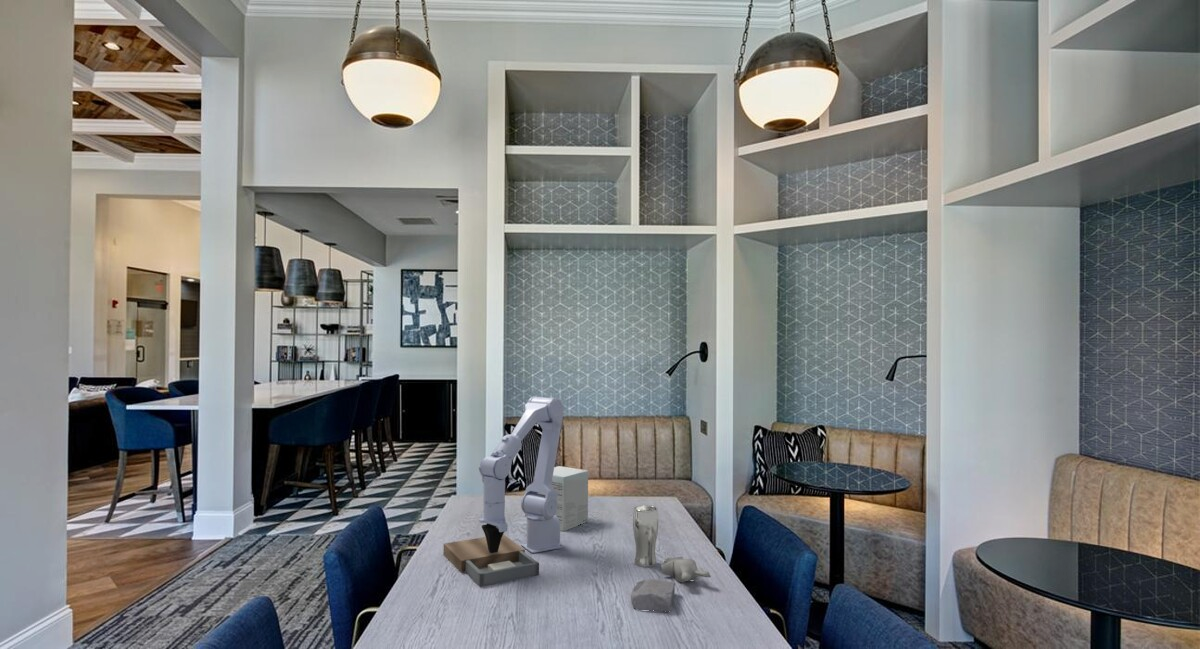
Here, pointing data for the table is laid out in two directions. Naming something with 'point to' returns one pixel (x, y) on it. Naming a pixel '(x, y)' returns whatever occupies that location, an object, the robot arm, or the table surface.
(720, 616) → the table surface
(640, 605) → the stone block
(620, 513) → the table surface
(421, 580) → the table surface
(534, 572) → the box
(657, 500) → the table surface
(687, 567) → the bunny figurine
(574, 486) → the supplement box
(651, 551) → the beer glass
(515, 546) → the drawer casing
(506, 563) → the tile
